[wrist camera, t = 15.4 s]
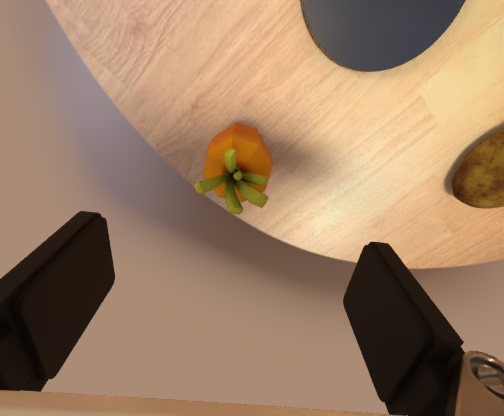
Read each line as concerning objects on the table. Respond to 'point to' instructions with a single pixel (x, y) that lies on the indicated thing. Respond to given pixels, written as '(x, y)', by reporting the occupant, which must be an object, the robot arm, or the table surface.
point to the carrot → (237, 167)
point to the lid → (377, 29)
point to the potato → (482, 175)
